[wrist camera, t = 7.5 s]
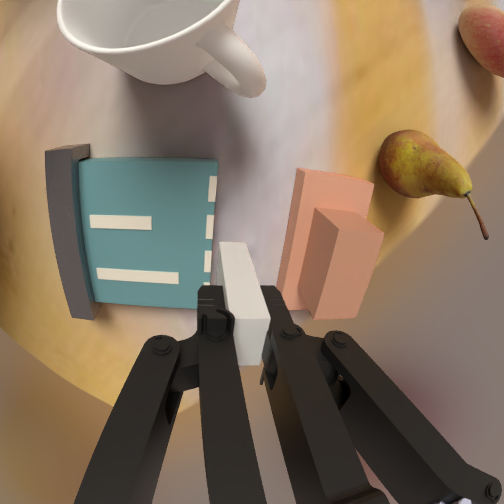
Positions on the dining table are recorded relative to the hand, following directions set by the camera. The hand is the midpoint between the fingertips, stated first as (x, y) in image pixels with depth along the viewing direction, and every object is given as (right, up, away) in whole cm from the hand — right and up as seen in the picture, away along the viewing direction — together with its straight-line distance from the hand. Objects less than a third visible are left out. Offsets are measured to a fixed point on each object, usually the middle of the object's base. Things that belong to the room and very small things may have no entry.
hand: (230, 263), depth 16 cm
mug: (-3, +15, -1) cm, 15 cm away
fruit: (+14, +9, +5) cm, 17 cm away
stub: (+7, +2, +8) cm, 10 cm away
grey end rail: (-13, +3, +4) cm, 14 cm away
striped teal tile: (-8, +2, +5) cm, 10 cm away
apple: (+26, +25, -1) cm, 36 cm away
